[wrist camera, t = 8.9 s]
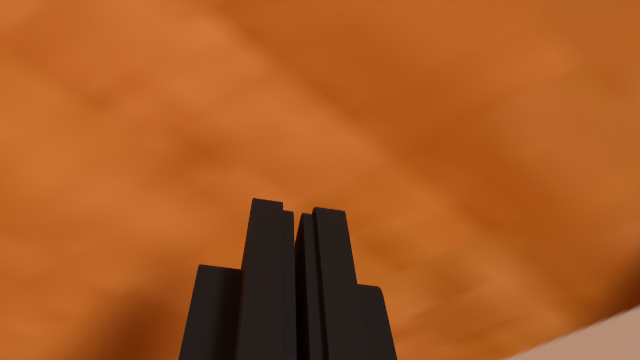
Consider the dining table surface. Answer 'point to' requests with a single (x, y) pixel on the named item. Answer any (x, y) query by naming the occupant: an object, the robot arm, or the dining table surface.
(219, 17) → the dining table surface
